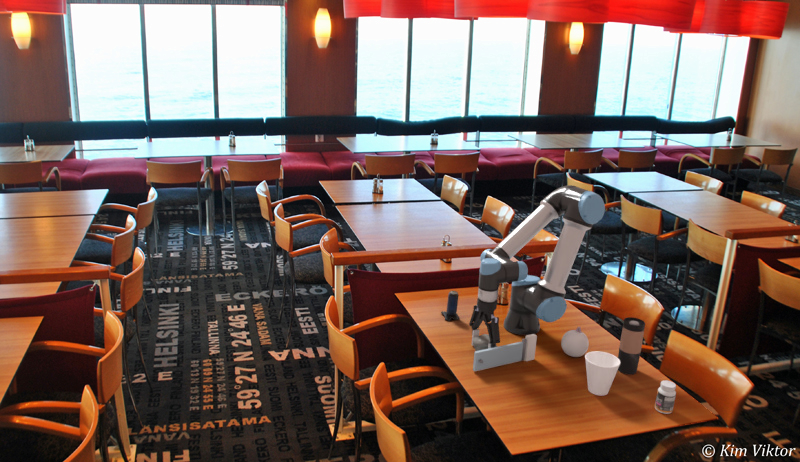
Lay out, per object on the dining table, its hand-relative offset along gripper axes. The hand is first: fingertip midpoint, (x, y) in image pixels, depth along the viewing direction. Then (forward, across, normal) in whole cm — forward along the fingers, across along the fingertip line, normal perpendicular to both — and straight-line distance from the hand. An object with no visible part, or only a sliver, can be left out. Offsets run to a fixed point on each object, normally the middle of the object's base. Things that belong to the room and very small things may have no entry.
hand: (482, 350), depth 246 cm
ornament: (+1, +16, +32) cm, 36 cm away
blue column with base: (+1, -33, +5) cm, 33 cm away
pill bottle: (+1, +58, +34) cm, 67 cm away
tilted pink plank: (0, +12, +13) cm, 18 cm away
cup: (+1, +40, +22) cm, 46 cm away
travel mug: (+1, +33, +43) cm, 54 cm away
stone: (+1, 0, +1) cm, 2 cm away
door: (0, +13, -1) cm, 13 cm away
